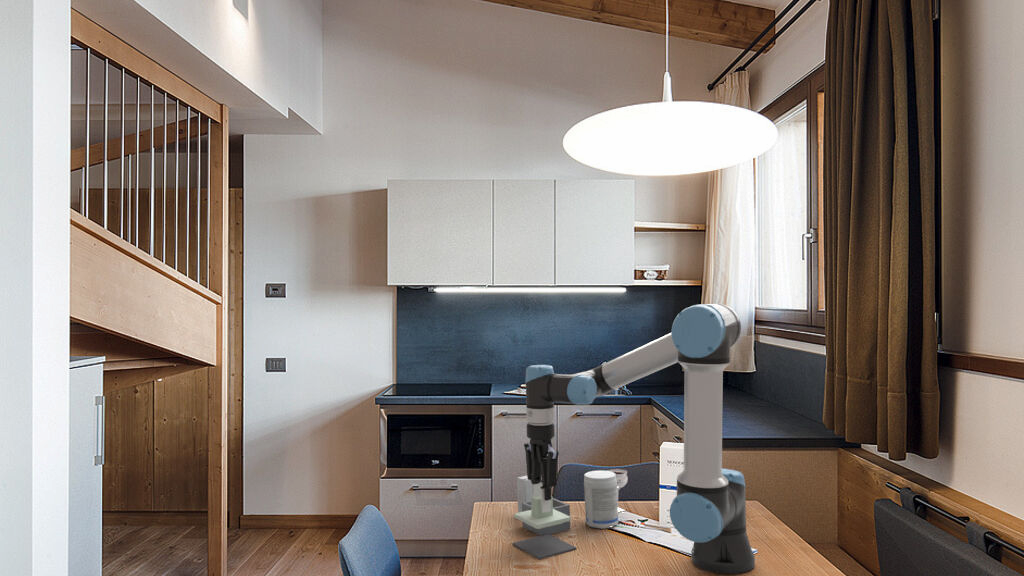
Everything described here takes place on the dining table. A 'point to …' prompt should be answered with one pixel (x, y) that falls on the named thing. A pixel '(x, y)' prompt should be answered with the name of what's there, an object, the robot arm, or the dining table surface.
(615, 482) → the supplement tub
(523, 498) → the skincare box
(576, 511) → the dining table surface
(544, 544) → the mat
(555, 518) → the lid
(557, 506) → the storage box
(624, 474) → the wineglass
